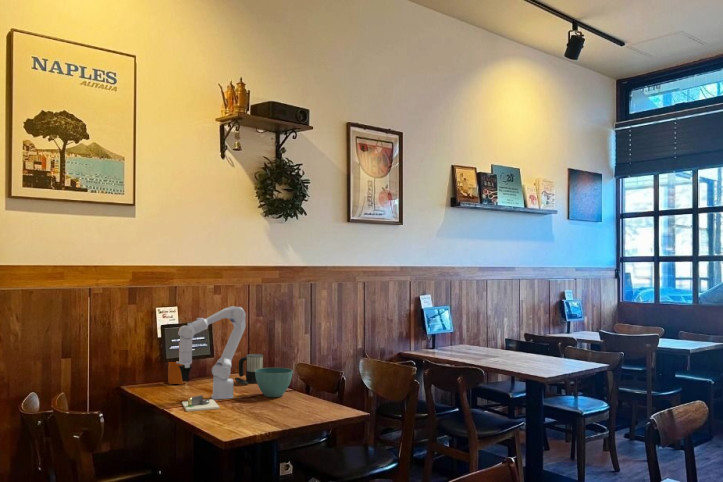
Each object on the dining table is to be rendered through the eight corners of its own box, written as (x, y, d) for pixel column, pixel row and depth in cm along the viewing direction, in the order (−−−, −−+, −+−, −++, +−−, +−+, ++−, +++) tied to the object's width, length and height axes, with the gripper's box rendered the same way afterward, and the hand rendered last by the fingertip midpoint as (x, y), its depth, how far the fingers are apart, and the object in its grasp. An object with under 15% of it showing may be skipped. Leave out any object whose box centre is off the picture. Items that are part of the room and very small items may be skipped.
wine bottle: (190, 383, 324) (192, 327, 325) (176, 386, 315) (178, 328, 317) (178, 381, 329) (179, 326, 330) (163, 384, 320) (165, 327, 322)
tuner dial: (204, 401, 273) (204, 393, 274) (211, 402, 270) (211, 395, 270) (184, 405, 265) (184, 397, 265) (191, 406, 262) (192, 398, 262)
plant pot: (281, 390, 305) (282, 366, 306) (298, 396, 290) (299, 371, 291) (248, 394, 295) (249, 369, 296) (264, 401, 280) (265, 374, 281)
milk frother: (263, 380, 333) (264, 353, 334) (260, 385, 318) (261, 357, 318) (238, 380, 333) (238, 353, 333) (233, 386, 317) (234, 357, 318)
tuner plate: (213, 401, 279) (213, 399, 279) (219, 408, 264) (219, 406, 264) (181, 403, 274) (181, 401, 274) (186, 411, 258) (186, 409, 258)
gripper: (175, 350, 283) (174, 379, 283) (178, 354, 270) (177, 384, 269) (190, 349, 286) (189, 378, 285) (194, 353, 273) (193, 383, 272)
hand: (184, 381), depth 278 cm, fingers closed
